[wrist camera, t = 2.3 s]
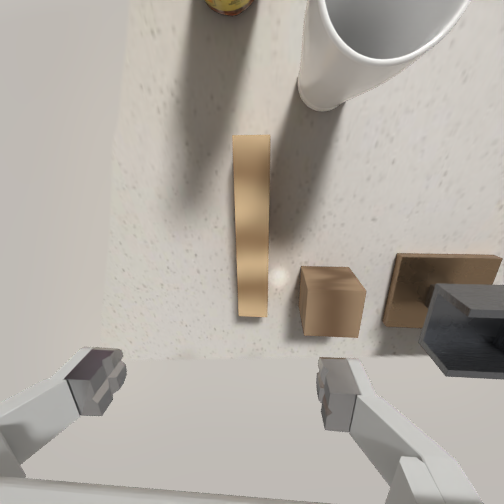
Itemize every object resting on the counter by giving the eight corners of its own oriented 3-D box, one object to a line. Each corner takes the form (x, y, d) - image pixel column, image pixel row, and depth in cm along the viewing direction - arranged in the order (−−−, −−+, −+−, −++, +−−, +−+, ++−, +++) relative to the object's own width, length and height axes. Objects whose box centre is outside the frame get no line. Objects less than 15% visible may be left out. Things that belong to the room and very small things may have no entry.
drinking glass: (349, 124, 25) (451, 76, 11) (284, 116, 25) (301, 60, 11) (368, 42, 22) (532, -157, 8) (295, 35, 22) (336, -171, 8)
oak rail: (238, 139, 26) (232, 135, 22) (270, 139, 26) (270, 134, 22) (242, 296, 33) (238, 316, 29) (267, 297, 33) (267, 317, 29)
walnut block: (348, 267, 30) (366, 291, 25) (343, 307, 32) (357, 337, 27) (301, 266, 31) (307, 289, 25) (298, 305, 33) (304, 335, 27)
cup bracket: (493, 254, 28) (602, 300, 19) (467, 324, 32) (548, 391, 23) (397, 253, 29) (456, 296, 20) (382, 321, 33) (426, 384, 23)
